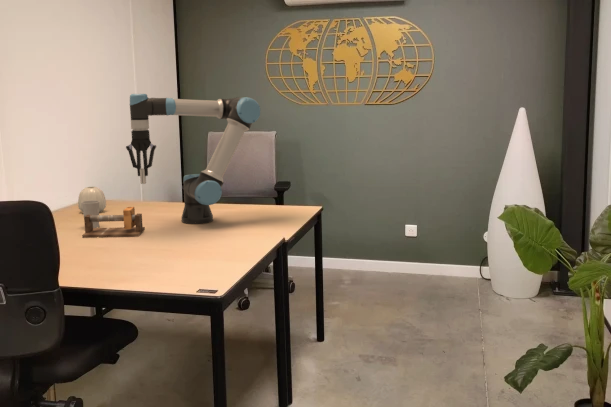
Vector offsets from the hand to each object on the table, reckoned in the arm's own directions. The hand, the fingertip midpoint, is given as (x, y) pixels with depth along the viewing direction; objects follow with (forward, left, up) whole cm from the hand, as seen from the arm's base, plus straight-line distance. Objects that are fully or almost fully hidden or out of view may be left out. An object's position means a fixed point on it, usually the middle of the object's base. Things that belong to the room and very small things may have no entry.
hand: (143, 183), depth 268 cm
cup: (+28, -15, -23) cm, 39 cm away
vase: (+38, -52, -23) cm, 68 cm away
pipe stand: (+14, 0, -22) cm, 26 cm away
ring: (+7, 0, -20) cm, 21 cm away
